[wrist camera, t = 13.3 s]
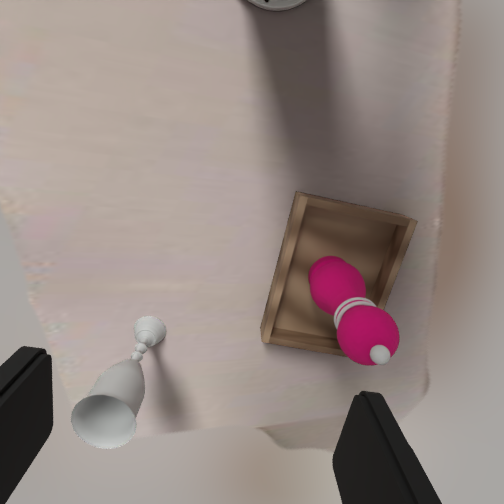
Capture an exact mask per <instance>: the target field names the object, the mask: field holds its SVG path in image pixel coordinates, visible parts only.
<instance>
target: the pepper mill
mask: <svg viewBox="0 0 504 504" xmlns="http://www.w3.org/2000/svg"><path fill="white" fill-rule="evenodd" d="M308 281H309V284H310V293H311V296H312V299H313V300H314V302H315V303H316V305H317V306H318V307H319V308H320V309H322V310H323V311H324V312H326V313H328V314H330V315H333V316H334V324H335V327H336V329H337V340H338V343H339V345H340V347H341V349H342V351H343V352H344V353H345V354H346V355H347V356H348V357H349V358H350V359H351V360H353V361H355V362H357V363H359V364H362V365H384V364H386V363H387V362H388V361H389V360H390V357H392V355H393V354H394V353H395V351H396V350H397V348H398V344H399V331H398V327H397V325H396V323H395V321H394V320H393V318H392V317H391V316H390V315H389V314H388V313H387V312H385V311H384V310H382V309H380V308H377V307H376V305H375V304H374V303H373V302H372V301H370V300H369V299H366V298H365V296H366V287H365V282H364V279H363V277H362V275H361V274H360V272H359V271H358V270H357V269H356V268H355V267H354V266H352V265H351V264H348V263H346V262H345V261H344V260H343V259H342V258H340V257H337V256H325V257H322V258H320V259H318V260H317V261H316V262H315V263H314V264H313V265H312V266H311V268H310V270H309V274H308Z"/></svg>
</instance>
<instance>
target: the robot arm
mask: <svg viewBox="0 0 504 504" xmlns="http://www.w3.org/2000/svg"><path fill="white" fill-rule="evenodd" d="M248 1H249V2H251V3H252V4H254V5H256V6H257V7H260V8H263V9H266V10H273V11H281V10H288V9H291V8H294V7H296V6H299V5H300V4H302V3H303V2H305V1H307V0H269V2H268V3H266V2H265V0H248ZM52 427H53V394H52V358H51V355H47V353H46V350H45V349H42V348H34V347H27V346H23V347H21V348H20V349H18V350H17V351H16V352H15V353H14V354H13V355H12V356H11V357H10V358H9V359H8V360H7V361H5V363H3V364H2V365H1V366H0V504H5V503H6V502H7V500H8V499H9V497H10V495H11V494H12V492H13V491H14V489H15V488H16V486H17V485H18V483H19V482H20V480H21V479H22V477H23V475H24V474H25V472H26V471H27V469H28V468H29V466H30V465H31V463H32V462H33V460H34V459H35V457H36V456H37V454H38V452H39V451H40V449H41V448H42V446H43V445H44V443H45V442H46V440H47V439H48V437H49V435H50V433H51V431H52ZM333 470H334V473H335V477H336V481H337V485H338V488H339V492H340V496H341V500H342V504H442V503H441V501H440V499H439V498H438V496H437V494H436V492H435V490H434V488H433V486H432V484H431V483H430V481H429V479H428V477H427V475H426V473H425V472H424V470H423V468H422V466H421V464H420V462H419V460H418V458H417V457H416V455H415V453H414V451H413V449H412V448H411V447H410V445H409V444H408V442H407V440H406V439H405V437H404V435H403V433H402V431H401V429H400V427H399V426H398V424H397V422H396V420H395V418H394V416H393V414H392V412H391V410H390V409H389V407H388V405H387V403H386V401H385V399H384V397H383V396H382V394H380V393H375V392H367V391H361V392H360V394H359V395H355V396H354V398H353V401H352V404H351V407H350V409H349V412H348V415H347V418H346V421H345V424H344V426H343V429H342V432H341V435H340V438H339V440H338V443H337V446H336V449H335V452H334V454H333Z"/></svg>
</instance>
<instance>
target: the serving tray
mask: <svg viewBox="0 0 504 504" xmlns="http://www.w3.org/2000/svg"><path fill="white" fill-rule="evenodd" d="M417 222H418V221H416V220H413V219H411V218H409V217H407V216H405V215H401V214H397V213H392V212H387V211H383V210H378V209H374V208H369V207H365V206H360V205H356V204H351V203H347V202H342V201H338V200H333V199H329V198H324V197H320V196H315V195H311V194H306V193H302V192H297V191H296V192H295V196H294V200H293V204H292V208H291V211H290V215H289V219H288V223H287V227H286V231H285V235H284V238H283V242H282V246H281V250H280V254H279V258H278V261H277V265H276V269H275V273H274V277H273V281H272V285H271V288H270V292H269V296H268V300H267V304H266V308H265V312H264V315H263V319H262V323H261V327H260V329H261V339H262V342H265V343H271V344H277V345H282V346H288V347H294V348H299V349H305V350H311V351H316V352H322V353H328V354H334V355H339V356H345V357H348V356H347V355H346V354H345V353H344V352H343V351H342V349H341V347H340V345H339V343H338V340H337V329H336V327H335V324H334V316H333V315H330V314H328V313H326V312H324V311H323V310H322V309H320V308H319V307H318V306H317V305H316V303H315V302H314V300H313V299H312V296H311V293H310V284H309V281H308V274H309V270H310V268H311V266H312V265H313V264H314V263H315V262H316V261H317V260H318V259H320V258H322V257H325V256H337V257H340V258H342V259H343V260H344V261H345V262H346V263H348V264H351V265H352V266H354V267H355V268H356V269H357V270H358V271H359V272H360V274H361V275H362V277H363V279H364V282H365V287H366V296H365V298H366V299H369V300H370V301H372V302H373V303H374V304H375V305H376V307H377V308H380V309H382V310H384V307H385V305H386V302H387V300H388V297H389V294H390V292H391V289H392V287H393V284H394V281H395V279H396V276H397V274H398V271H399V268H400V266H401V263H402V261H403V258H404V255H405V253H406V250H407V248H408V245H409V242H410V240H411V237H412V235H413V232H414V230H415V227H416V224H417Z"/></svg>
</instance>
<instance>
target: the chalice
mask: <svg viewBox="0 0 504 504" xmlns="http://www.w3.org/2000/svg"><path fill="white" fill-rule="evenodd" d="M134 334H135V339H136V341H137V342H138V344H136V346H135V351H136V352H133V353H132V354H131V358H132V359H126V360H124V361H122V362H120V363H117V364H115V365H113V366H112V367H110V368H109V369H108V370H106V371H105V372H104V373H102V374H101V375H100V376H99V378H98V379H97V381H96V382H95V384H94V386H93V387H92V389H91V391H90V392H89V394H88V395H87V397H86V398H84V399H82V400H81V401H80V402H79V403H78V404H76V406H75V407H74V409H73V411H72V416H71V422H72V426H73V429H74V431H75V432H76V434H77V435H78V437H80V438H81V439H82V440H83V441H84V442H86V443H88V444H90V445H92V446H94V447H98V448H103V449H109V448H117V447H119V446H122V445H124V444H126V443H127V442H128V441H130V440H131V438H132V437H133V435H134V434H135V430H136V425H137V424H136V416H137V414H138V411H139V408H140V406H141V403H142V401H143V398H144V393H145V382H144V375H143V371H142V367H141V365H140V363H139V361H141V360H142V358H143V356H142V354H144V353H145V352H146V351H147V347H151V346H154V345H155V344H157V343H158V342H160V341H161V340H163V338H164V337H165V335H166V327H165V325H164V323H163V322H162V321H161V320H160V319H158V318H156V317H152V316H144V317H142V318H140V319H139V320H137V321H136V323H135V325H134Z"/></svg>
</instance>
